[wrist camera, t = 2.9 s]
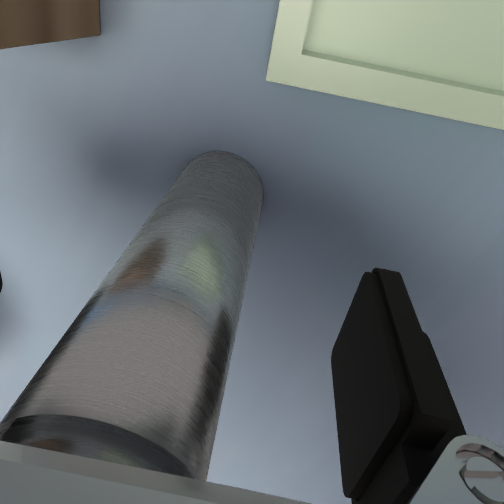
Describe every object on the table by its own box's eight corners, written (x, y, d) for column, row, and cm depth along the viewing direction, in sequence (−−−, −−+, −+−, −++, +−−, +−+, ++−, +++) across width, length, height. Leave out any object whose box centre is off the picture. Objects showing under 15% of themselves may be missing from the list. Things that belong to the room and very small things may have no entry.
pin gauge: (271, 160, 14) (193, 557, 4) (255, 237, 16) (172, 651, 6) (182, 142, 14) (-126, 491, 4) (176, 221, 16) (-50, 605, 6)
